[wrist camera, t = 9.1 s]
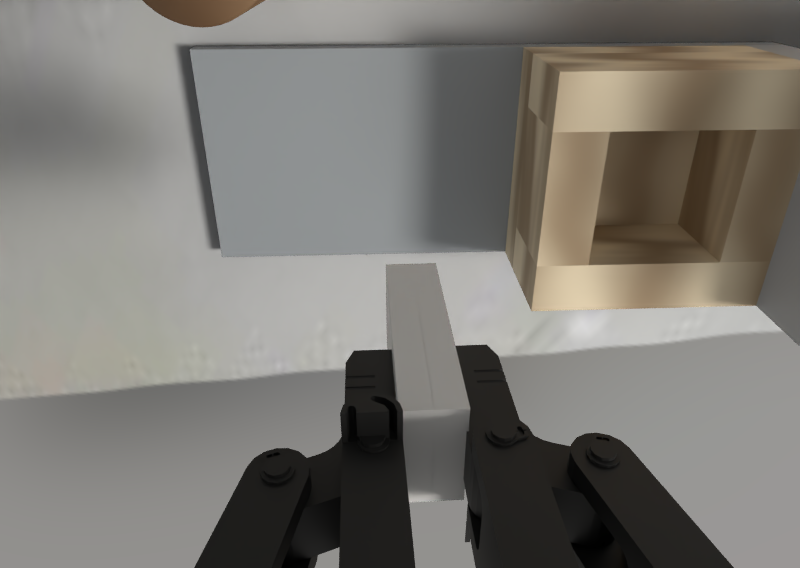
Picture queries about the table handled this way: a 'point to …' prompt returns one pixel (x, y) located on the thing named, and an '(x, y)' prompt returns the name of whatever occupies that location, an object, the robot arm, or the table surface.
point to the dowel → (201, 10)
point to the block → (651, 174)
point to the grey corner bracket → (389, 152)
